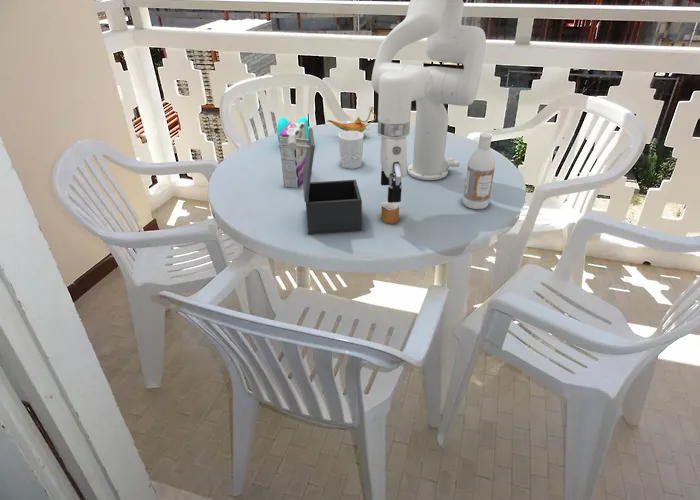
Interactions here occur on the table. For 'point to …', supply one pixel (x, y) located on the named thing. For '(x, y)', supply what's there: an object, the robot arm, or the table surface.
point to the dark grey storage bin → (334, 207)
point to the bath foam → (479, 175)
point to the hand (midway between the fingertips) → (390, 193)
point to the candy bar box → (292, 155)
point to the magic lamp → (354, 124)
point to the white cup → (351, 149)
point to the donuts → (284, 122)
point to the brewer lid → (308, 160)
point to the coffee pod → (390, 212)
